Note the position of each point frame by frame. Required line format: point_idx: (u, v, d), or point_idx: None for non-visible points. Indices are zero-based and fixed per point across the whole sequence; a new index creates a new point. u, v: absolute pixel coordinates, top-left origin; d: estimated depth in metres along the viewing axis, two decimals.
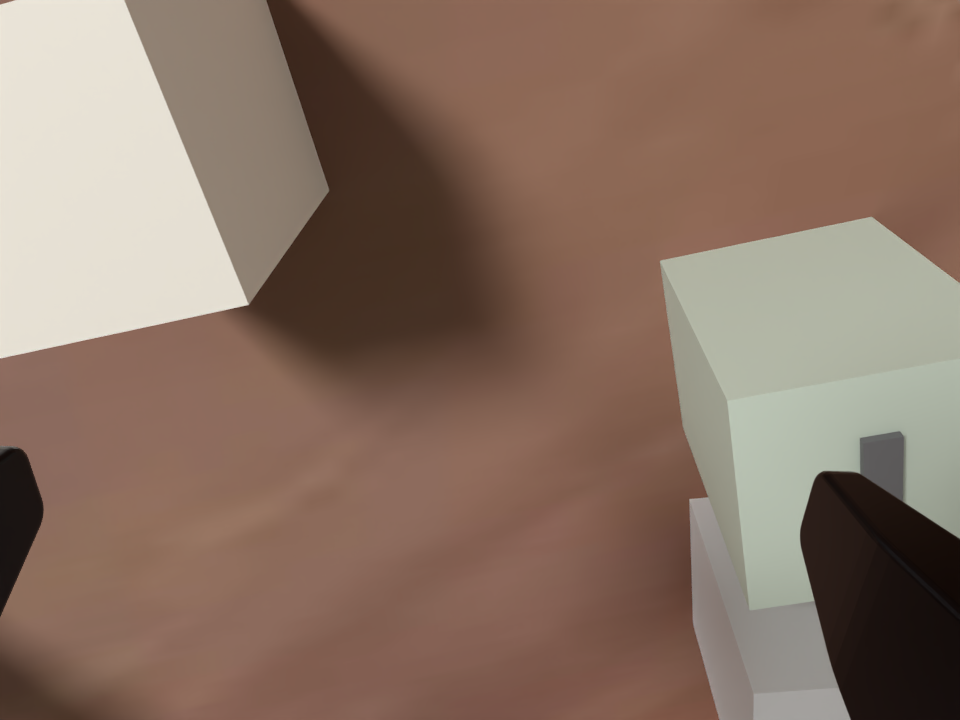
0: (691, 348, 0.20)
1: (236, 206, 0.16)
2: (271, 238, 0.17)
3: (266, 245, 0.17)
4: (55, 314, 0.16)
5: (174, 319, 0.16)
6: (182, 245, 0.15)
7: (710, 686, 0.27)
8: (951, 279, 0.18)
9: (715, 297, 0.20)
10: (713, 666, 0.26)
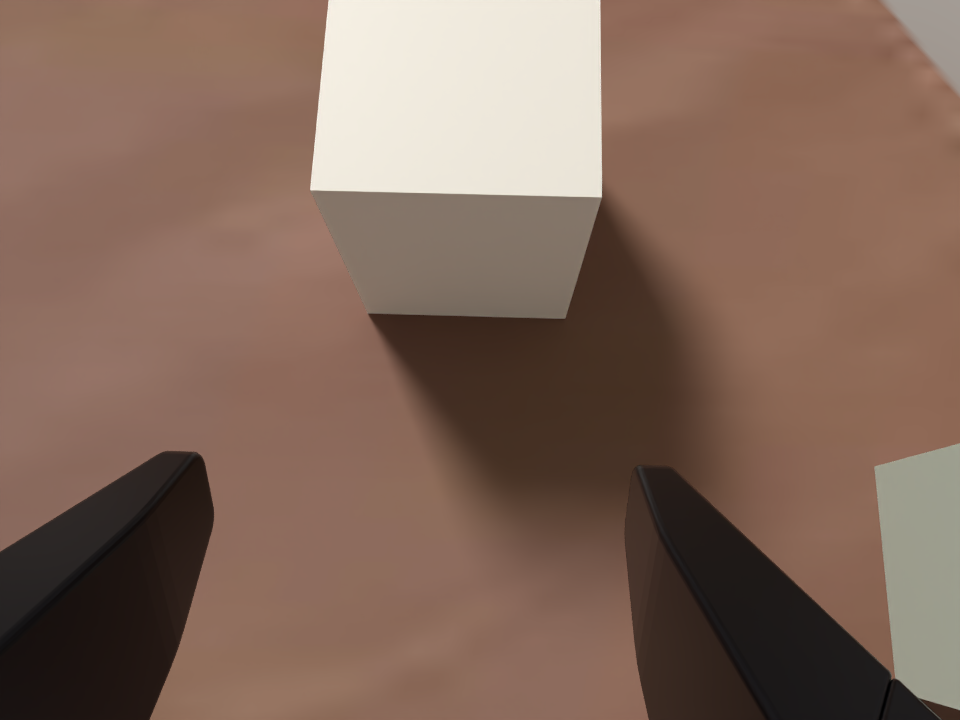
0: (959, 481, 0.18)
1: None
2: None
3: None
4: (415, 164, 0.16)
5: (523, 196, 0.16)
6: (563, 134, 0.16)
7: None
8: None
9: None
10: None
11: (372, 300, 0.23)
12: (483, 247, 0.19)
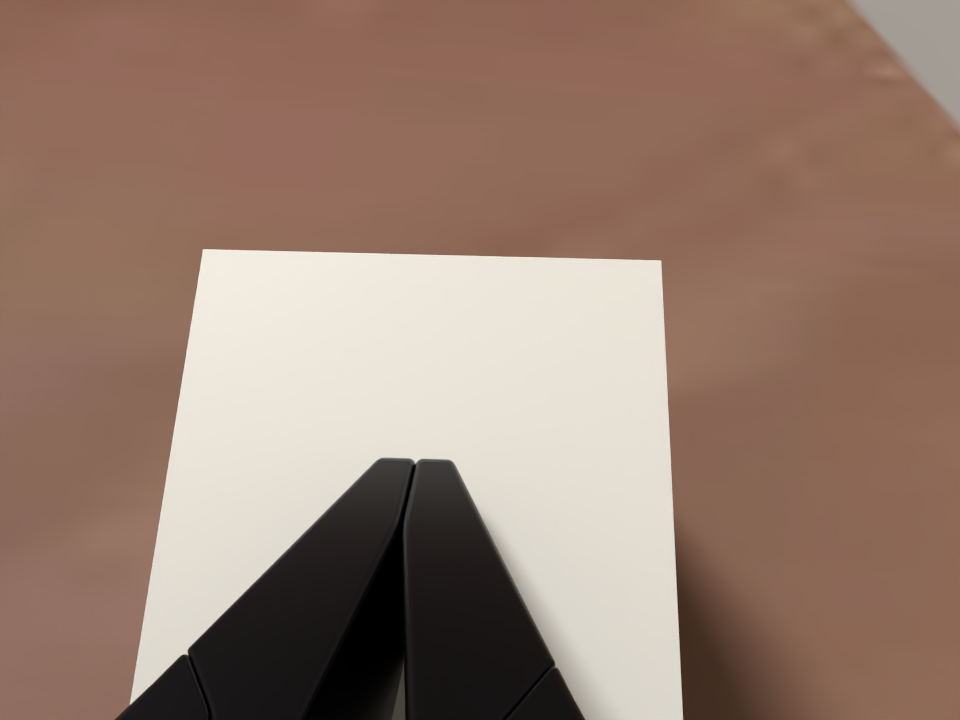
0: None
1: None
2: None
3: None
4: None
5: None
6: (608, 629, 0.09)
7: None
8: None
9: None
10: None
11: None
12: None
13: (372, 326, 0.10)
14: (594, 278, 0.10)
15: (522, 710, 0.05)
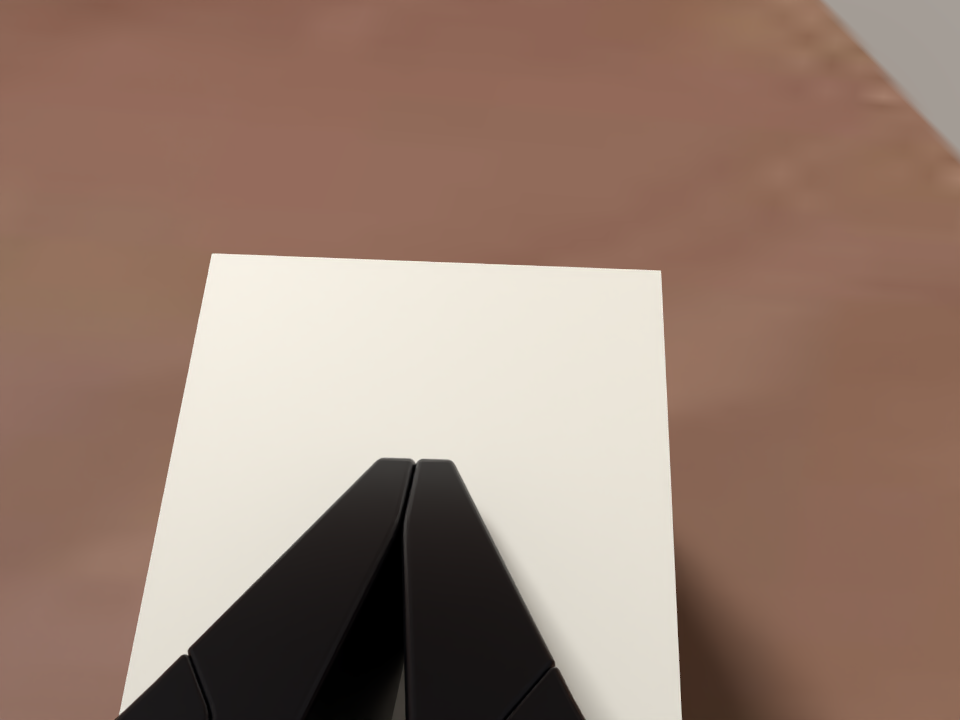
0: None
1: None
2: None
3: None
4: None
5: None
6: (607, 631, 0.09)
7: None
8: None
9: None
10: None
11: None
12: None
13: (376, 329, 0.10)
14: (595, 286, 0.10)
15: (522, 709, 0.05)
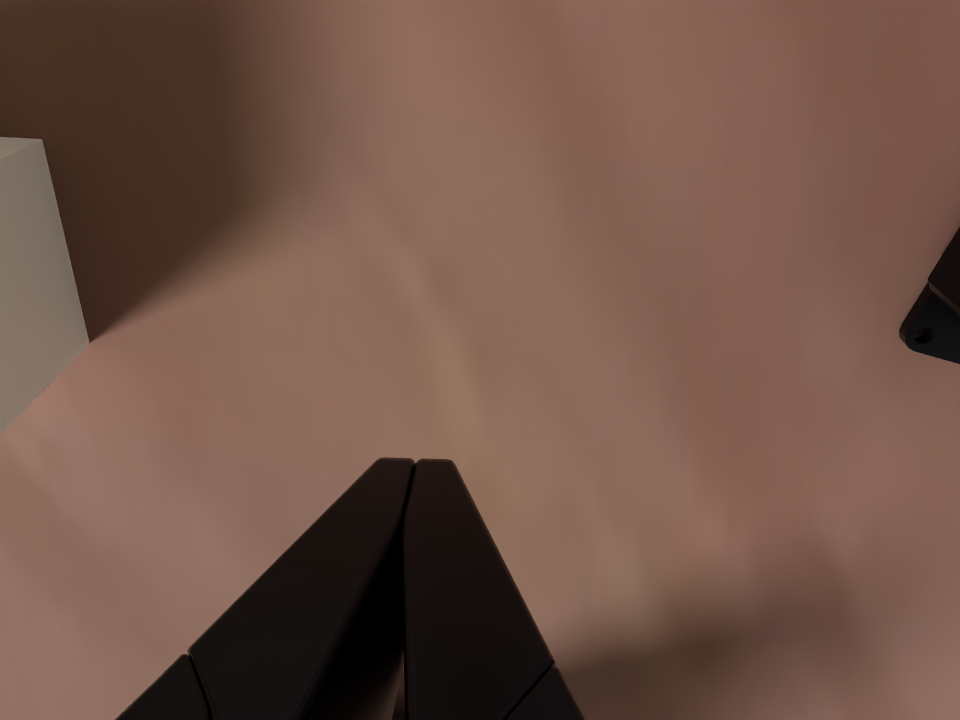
0: None
1: None
2: None
3: None
4: None
5: None
6: None
7: None
8: None
9: None
10: None
11: (66, 353, 0.22)
12: None
13: None
14: None
15: (522, 710, 0.05)
